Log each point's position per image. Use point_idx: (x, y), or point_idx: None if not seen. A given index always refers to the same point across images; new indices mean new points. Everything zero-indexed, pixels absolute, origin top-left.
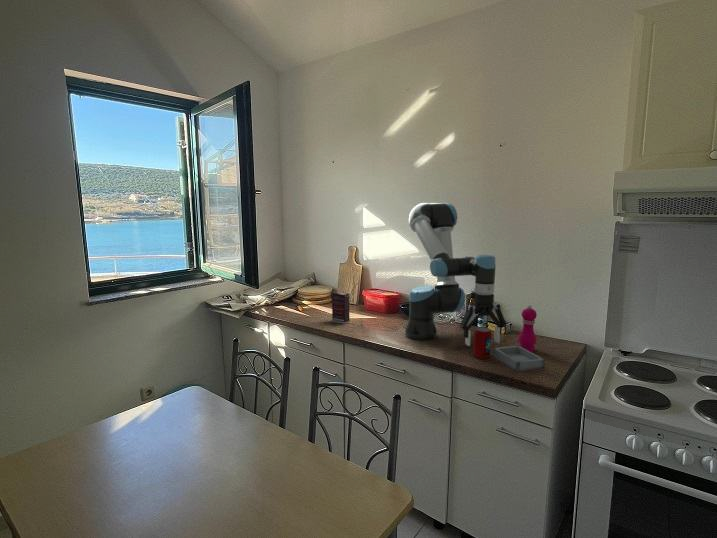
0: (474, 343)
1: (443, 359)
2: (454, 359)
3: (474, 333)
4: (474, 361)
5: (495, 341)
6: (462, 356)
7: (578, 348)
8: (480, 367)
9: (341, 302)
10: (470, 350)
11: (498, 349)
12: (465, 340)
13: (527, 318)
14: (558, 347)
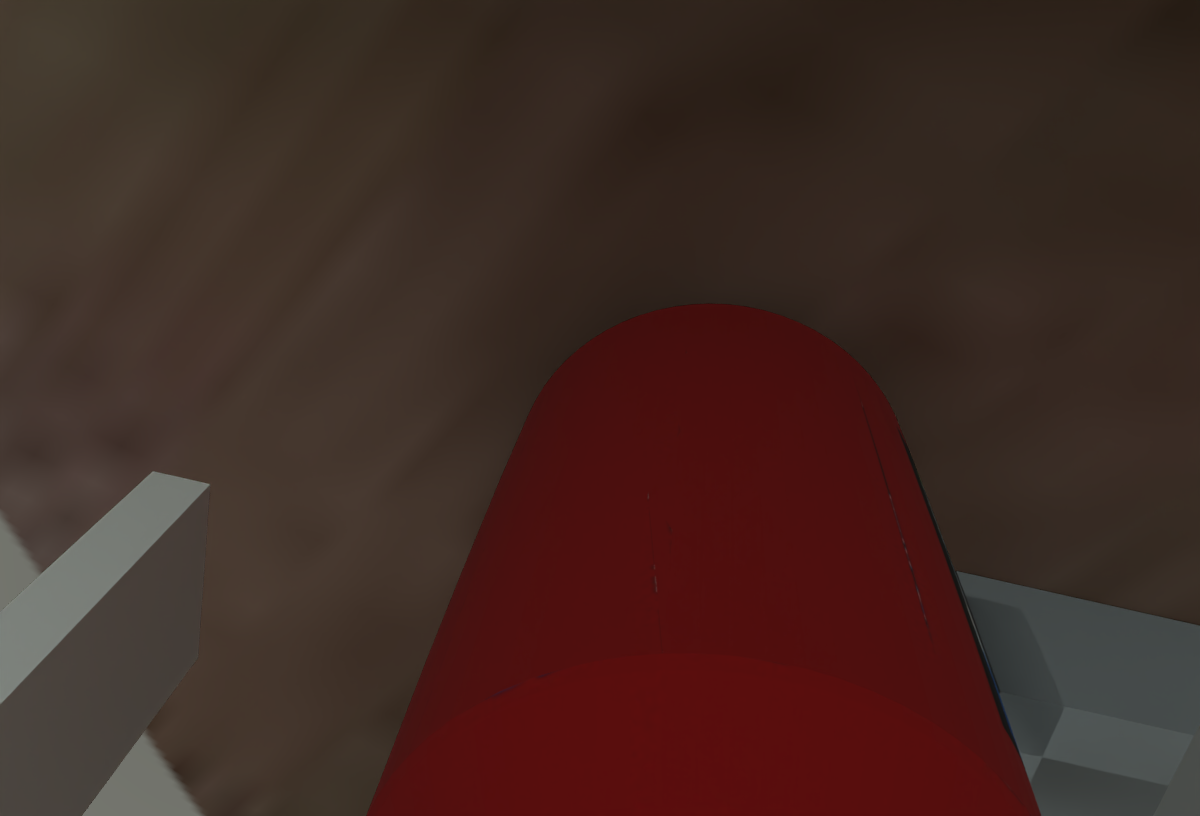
0: (466, 564)
1: None
2: (30, 302)
3: (433, 705)
4: (373, 575)
5: (1177, 779)
6: (302, 251)
7: None
8: (297, 799)
9: None
10: (776, 16)
11: (1080, 752)
12: (91, 540)
13: None
14: None
